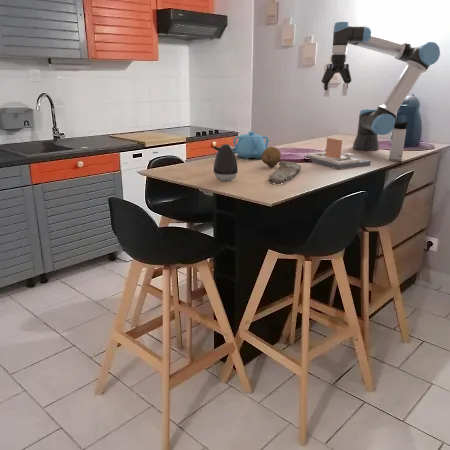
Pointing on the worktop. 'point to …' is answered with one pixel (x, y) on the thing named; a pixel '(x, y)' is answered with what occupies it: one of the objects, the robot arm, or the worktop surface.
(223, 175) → the pump dispenser
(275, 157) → the brown round lump
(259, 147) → the decorative pot
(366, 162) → the boss board
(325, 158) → the keyhole plate
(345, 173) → the worktop surface
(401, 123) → the travel mug
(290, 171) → the long grey stone
